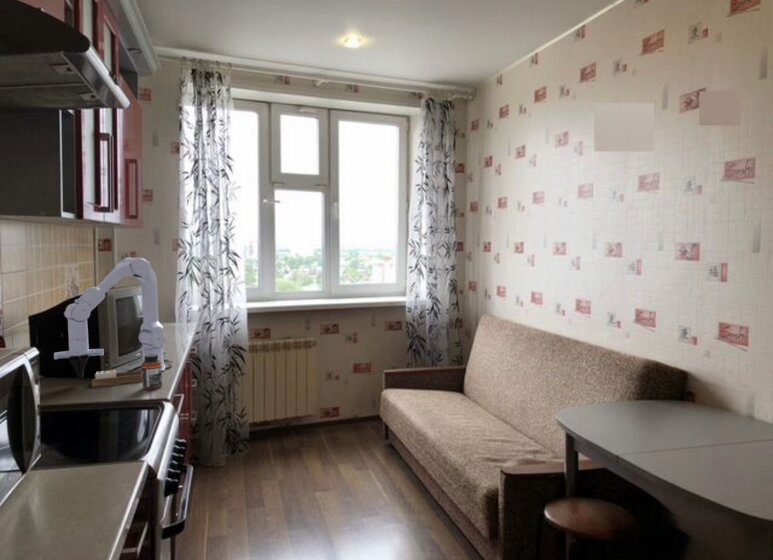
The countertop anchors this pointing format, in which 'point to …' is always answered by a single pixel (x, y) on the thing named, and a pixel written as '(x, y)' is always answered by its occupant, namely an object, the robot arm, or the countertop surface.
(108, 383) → the brown wooden frame
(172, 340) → the countertop surface
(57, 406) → the countertop surface
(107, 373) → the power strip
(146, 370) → the supplement bottle
